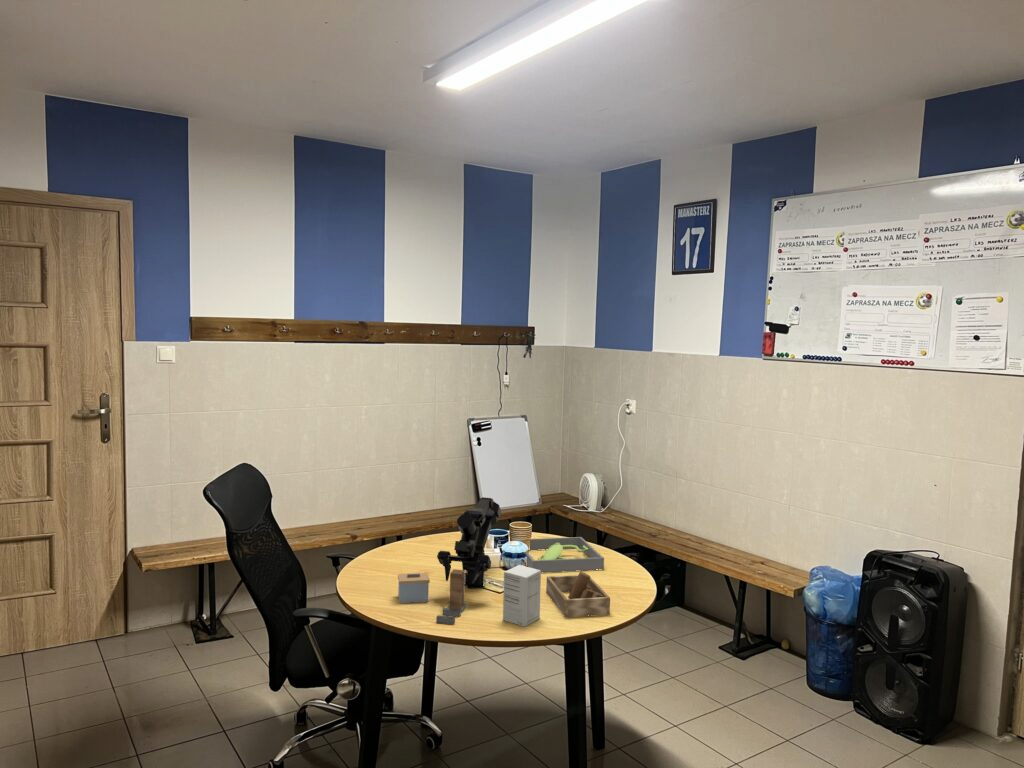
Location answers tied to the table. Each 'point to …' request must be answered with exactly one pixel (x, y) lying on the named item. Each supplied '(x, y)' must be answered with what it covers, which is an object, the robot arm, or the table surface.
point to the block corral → (576, 605)
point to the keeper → (446, 618)
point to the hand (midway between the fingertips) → (459, 581)
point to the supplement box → (521, 595)
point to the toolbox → (413, 587)
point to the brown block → (457, 589)
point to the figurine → (558, 551)
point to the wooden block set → (583, 588)
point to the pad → (462, 607)
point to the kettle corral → (561, 565)
